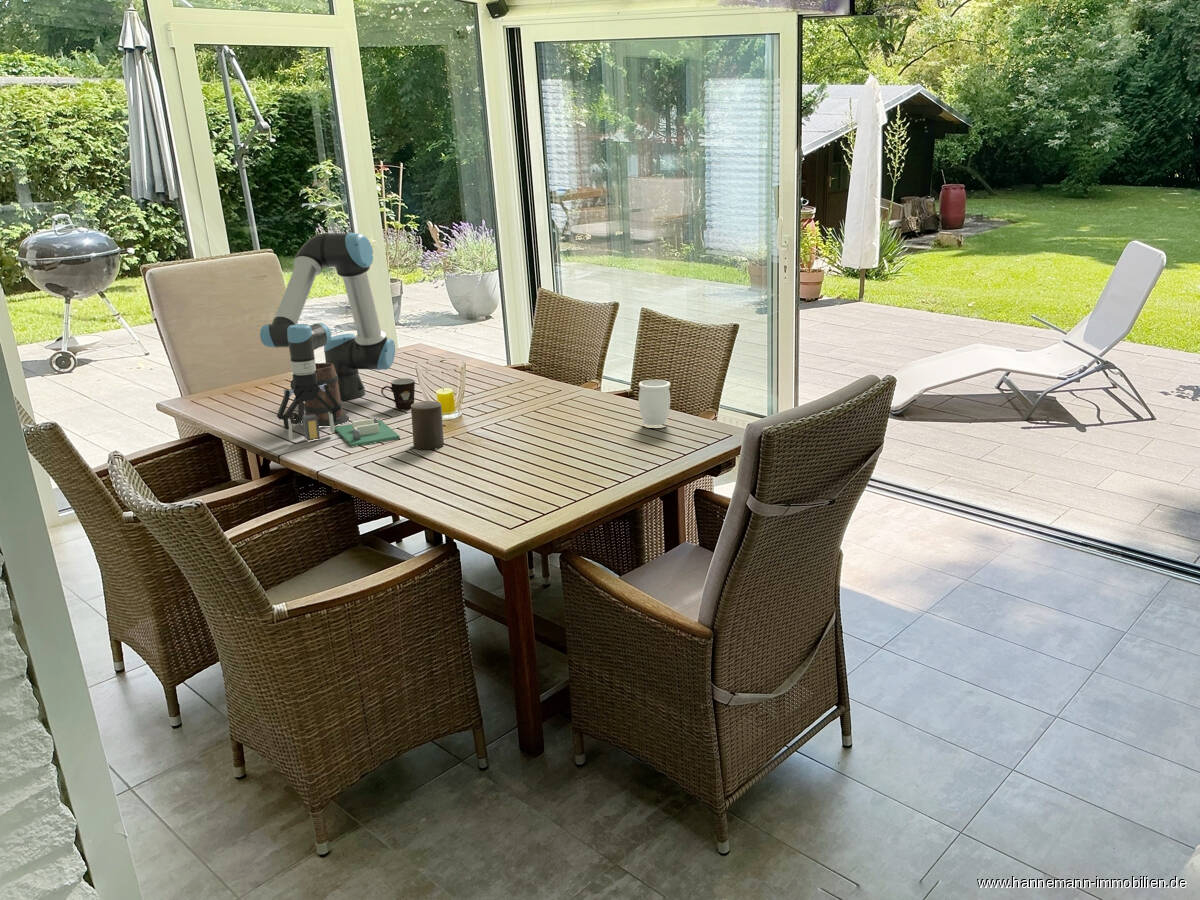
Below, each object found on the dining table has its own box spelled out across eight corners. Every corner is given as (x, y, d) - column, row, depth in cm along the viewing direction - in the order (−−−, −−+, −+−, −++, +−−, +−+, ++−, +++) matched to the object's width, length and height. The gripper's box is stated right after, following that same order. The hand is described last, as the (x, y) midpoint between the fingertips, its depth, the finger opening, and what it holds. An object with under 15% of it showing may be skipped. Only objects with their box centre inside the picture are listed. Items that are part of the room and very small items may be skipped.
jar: (674, 423, 328) (674, 380, 324) (663, 432, 320) (663, 388, 315) (645, 420, 333) (645, 378, 328) (634, 428, 324) (633, 385, 319)
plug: (305, 439, 321) (302, 416, 319) (317, 437, 323) (314, 414, 321) (308, 442, 318) (305, 419, 315) (320, 440, 320) (317, 417, 317)
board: (334, 429, 330) (333, 418, 329) (380, 422, 338) (379, 411, 336) (351, 447, 312) (350, 435, 311) (399, 438, 319) (398, 427, 318)
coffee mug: (419, 404, 358) (417, 378, 355) (413, 411, 350) (411, 384, 347) (389, 404, 359) (386, 378, 356) (382, 410, 351) (379, 384, 348)
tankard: (327, 411, 352) (320, 357, 346) (360, 418, 343) (354, 363, 337) (274, 428, 334) (267, 372, 327) (308, 435, 325) (300, 378, 318)
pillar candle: (430, 452, 306) (427, 406, 301) (407, 447, 311) (403, 402, 306) (450, 443, 313) (447, 399, 309) (427, 439, 318) (424, 395, 314)
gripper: (266, 380, 305) (275, 444, 311) (345, 369, 316) (352, 431, 322) (262, 375, 311) (270, 438, 318) (339, 365, 322) (346, 426, 329)
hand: (311, 435), depth 320 cm, fingers open, 13 cm apart
